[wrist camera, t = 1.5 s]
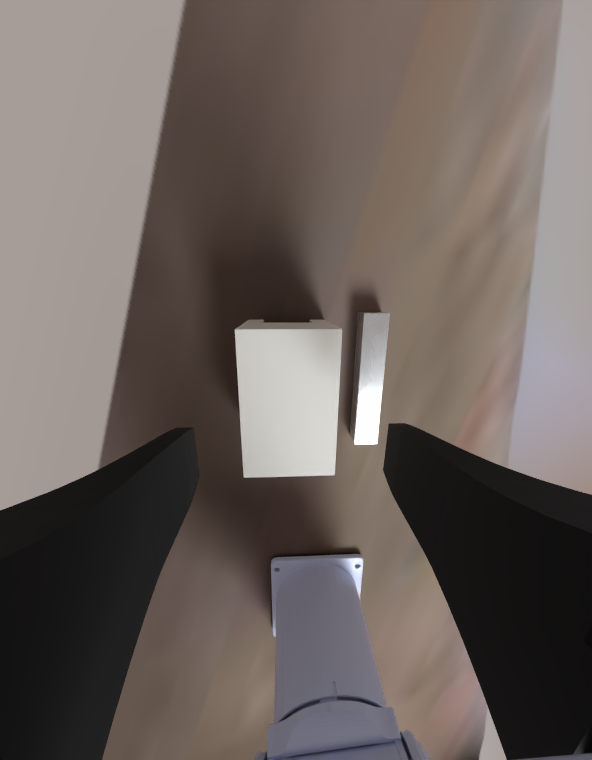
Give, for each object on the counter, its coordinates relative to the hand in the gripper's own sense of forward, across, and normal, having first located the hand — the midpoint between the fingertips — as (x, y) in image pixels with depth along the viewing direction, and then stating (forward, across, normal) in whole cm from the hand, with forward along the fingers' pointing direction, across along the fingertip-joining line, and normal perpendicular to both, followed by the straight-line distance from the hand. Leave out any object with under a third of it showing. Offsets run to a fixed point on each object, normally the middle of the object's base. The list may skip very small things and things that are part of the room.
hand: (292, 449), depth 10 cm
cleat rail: (+10, -6, 0) cm, 11 cm away
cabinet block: (+10, 0, 0) cm, 10 cm away
